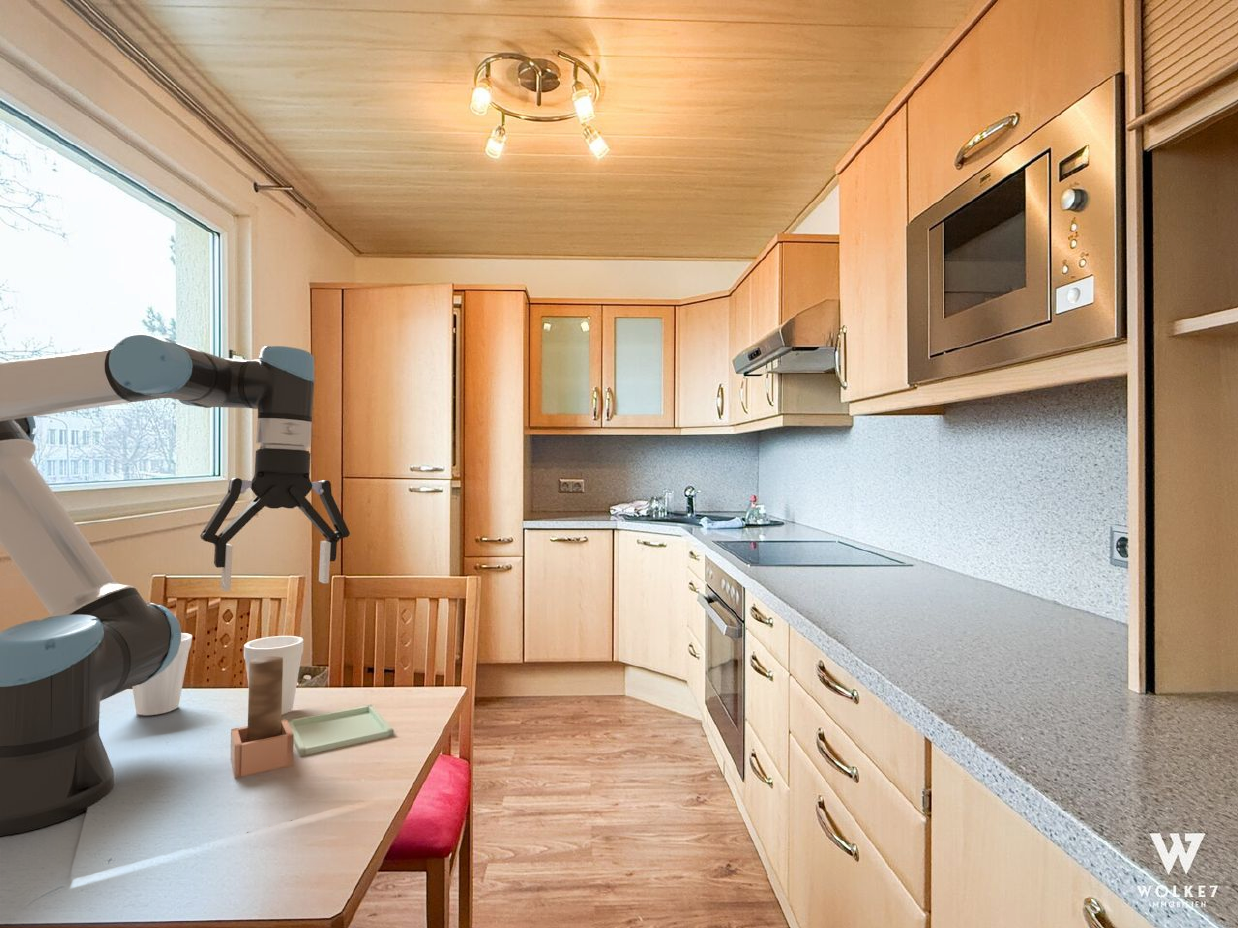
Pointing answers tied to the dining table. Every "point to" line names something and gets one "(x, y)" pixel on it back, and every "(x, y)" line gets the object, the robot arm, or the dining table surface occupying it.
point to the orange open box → (261, 751)
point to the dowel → (265, 697)
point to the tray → (338, 729)
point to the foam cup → (291, 654)
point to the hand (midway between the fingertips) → (276, 585)
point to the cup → (164, 684)
